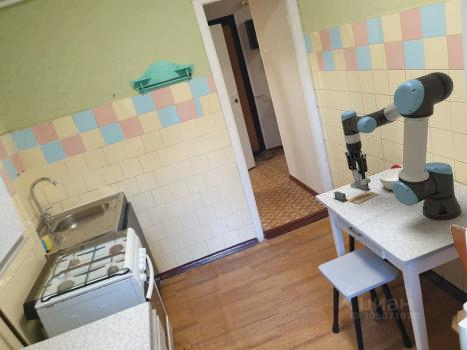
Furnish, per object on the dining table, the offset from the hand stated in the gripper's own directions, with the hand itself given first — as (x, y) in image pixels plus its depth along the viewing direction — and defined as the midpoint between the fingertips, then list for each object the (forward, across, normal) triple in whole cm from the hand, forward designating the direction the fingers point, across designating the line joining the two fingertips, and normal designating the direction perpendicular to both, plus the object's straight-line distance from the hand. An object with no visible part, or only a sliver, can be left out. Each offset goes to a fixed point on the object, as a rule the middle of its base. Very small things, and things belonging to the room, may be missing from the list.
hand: (360, 183), depth 198 cm
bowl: (+9, -6, -20) cm, 22 cm away
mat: (+8, 0, 0) cm, 8 cm away
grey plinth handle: (+9, +8, 0) cm, 12 cm away
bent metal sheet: (+1, 0, 0) cm, 1 cm away
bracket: (+9, +6, -30) cm, 32 cm away
